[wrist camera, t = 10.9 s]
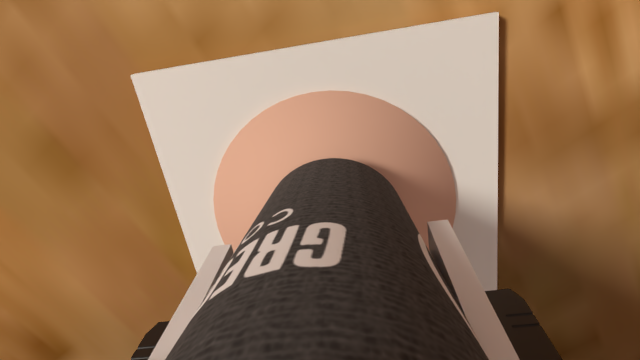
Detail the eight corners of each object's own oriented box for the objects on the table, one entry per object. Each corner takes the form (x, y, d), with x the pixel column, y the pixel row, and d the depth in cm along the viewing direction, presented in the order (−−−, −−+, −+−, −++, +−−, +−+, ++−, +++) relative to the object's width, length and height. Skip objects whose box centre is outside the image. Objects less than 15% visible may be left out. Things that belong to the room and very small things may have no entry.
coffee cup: (396, 87, 16) (756, 541, 2) (463, 269, 19) (783, 934, 5) (196, 172, 18) (-306, 703, 4) (287, 325, 21) (181, 920, 7)
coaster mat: (493, 12, 16) (500, 12, 16) (493, 314, 22) (498, 324, 22) (136, 73, 18) (128, 75, 17) (223, 337, 24) (220, 347, 23)
